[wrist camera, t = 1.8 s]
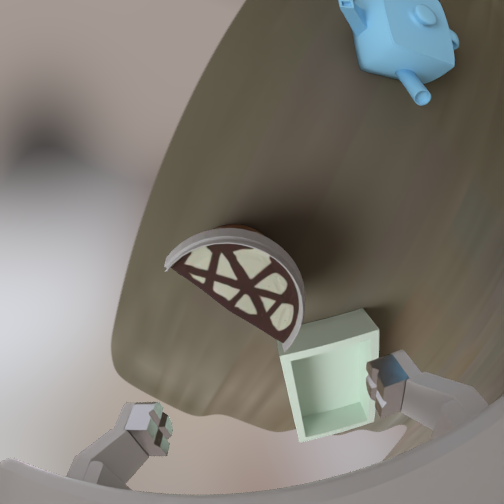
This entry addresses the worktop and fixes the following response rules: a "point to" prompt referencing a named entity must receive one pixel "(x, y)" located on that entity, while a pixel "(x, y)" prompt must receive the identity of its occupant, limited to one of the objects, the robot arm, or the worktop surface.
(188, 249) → the food container
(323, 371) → the crate
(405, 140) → the worktop surface
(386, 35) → the teapot
